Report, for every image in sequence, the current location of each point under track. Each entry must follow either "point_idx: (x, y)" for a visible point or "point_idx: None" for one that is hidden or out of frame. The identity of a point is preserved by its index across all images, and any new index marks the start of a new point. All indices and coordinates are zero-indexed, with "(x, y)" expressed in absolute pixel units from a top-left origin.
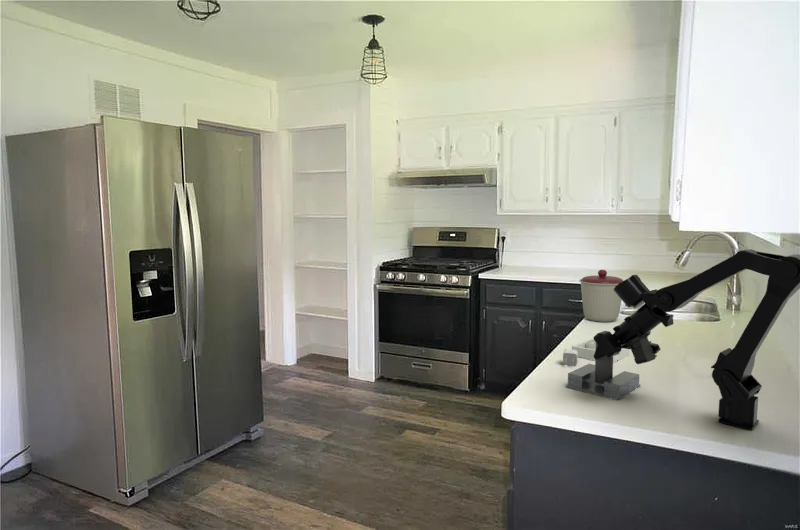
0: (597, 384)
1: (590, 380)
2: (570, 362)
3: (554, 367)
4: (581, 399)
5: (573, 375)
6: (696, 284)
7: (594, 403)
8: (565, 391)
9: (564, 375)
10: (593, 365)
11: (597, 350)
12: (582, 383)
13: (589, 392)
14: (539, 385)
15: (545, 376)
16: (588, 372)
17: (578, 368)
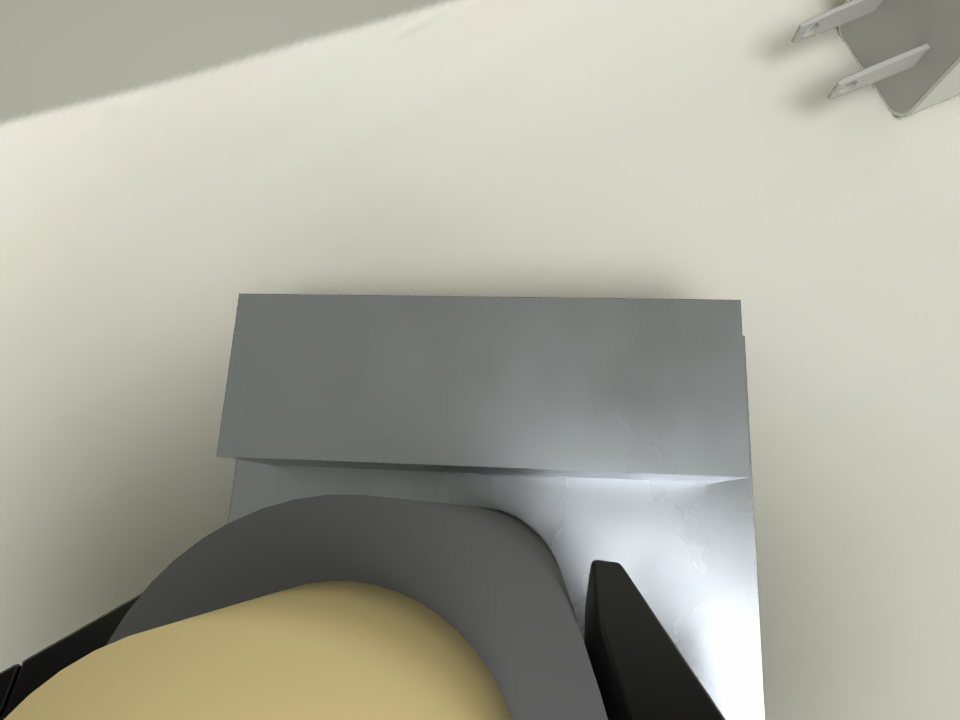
0: None
1: (436, 470)
2: (887, 54)
3: (711, 10)
4: (48, 571)
5: (234, 358)
6: None
7: None
8: (163, 379)
9: (557, 176)
10: (706, 371)
11: None
12: (264, 463)
13: None
14: (182, 162)
15: (422, 83)
16: (400, 446)
17: (468, 297)
